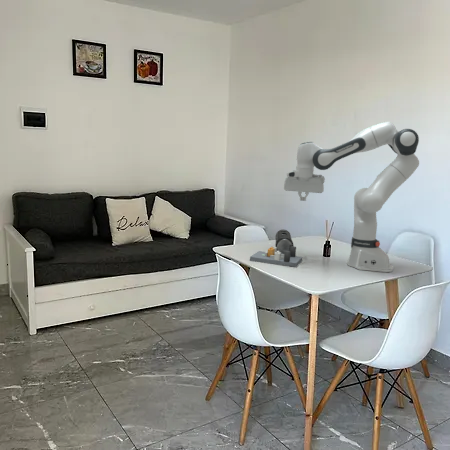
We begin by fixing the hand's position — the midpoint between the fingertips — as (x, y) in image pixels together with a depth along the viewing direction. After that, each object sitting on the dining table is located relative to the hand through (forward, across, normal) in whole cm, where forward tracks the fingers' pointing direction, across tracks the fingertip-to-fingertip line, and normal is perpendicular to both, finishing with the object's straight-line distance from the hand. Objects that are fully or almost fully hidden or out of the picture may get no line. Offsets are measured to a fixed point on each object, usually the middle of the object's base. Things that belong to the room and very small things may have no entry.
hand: (302, 200), depth 238 cm
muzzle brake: (+31, +11, -8) cm, 34 cm away
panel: (+31, +9, +12) cm, 34 cm away
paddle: (+28, +12, +12) cm, 33 cm away
